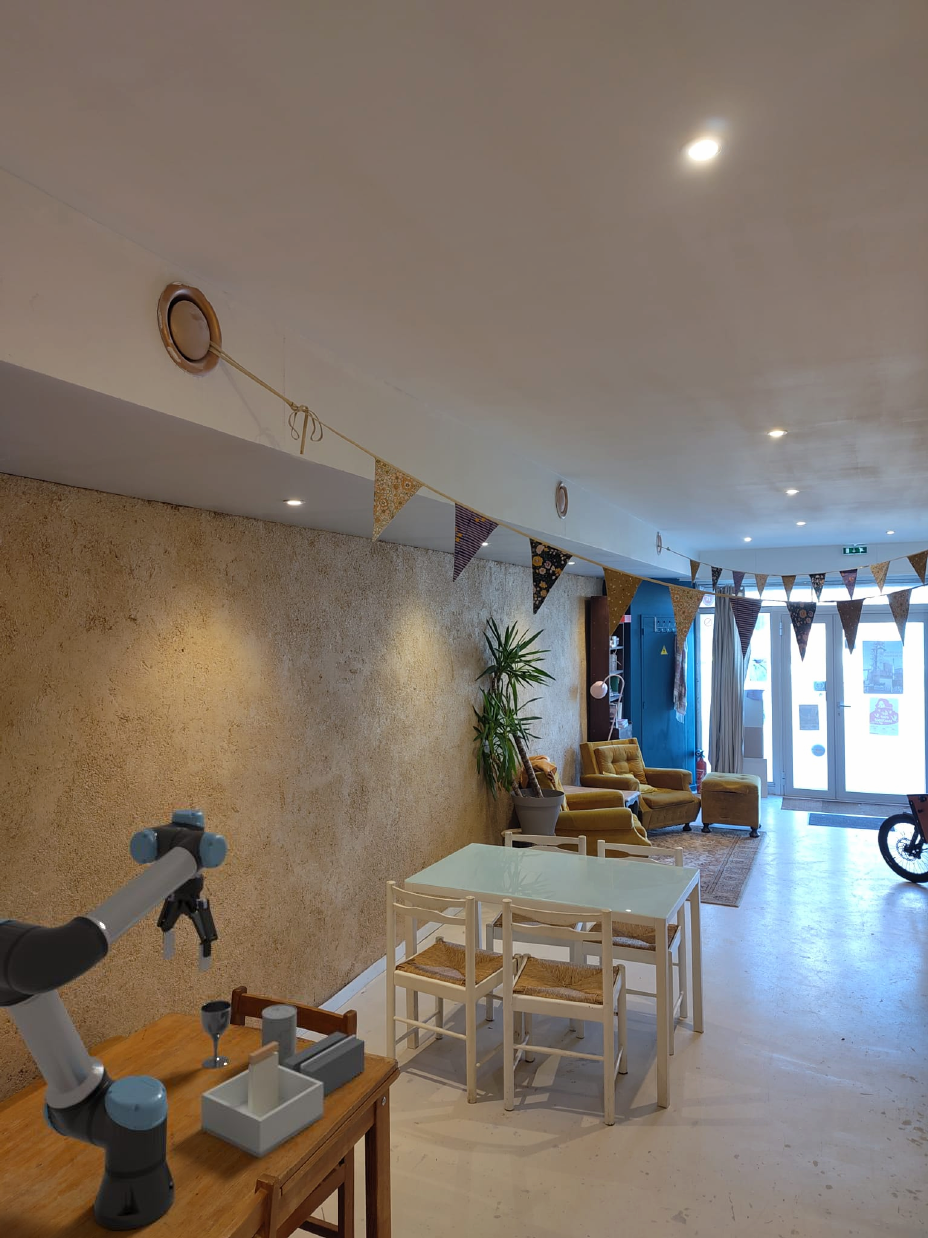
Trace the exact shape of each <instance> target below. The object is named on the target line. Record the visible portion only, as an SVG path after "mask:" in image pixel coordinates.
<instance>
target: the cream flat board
mask: <svg viewBox="0 0 928 1238" xmlns="http://www.w3.org/2000/svg"><path fill="white" fill-rule="evenodd" d="M277 1050H279V1043H277V1042H275V1041H274V1042H272V1043H270V1044H268V1045H266V1046H264V1047H262V1046H261V1047H260V1048H259V1049H257V1050H254V1051H253V1052H250V1053H249V1054H247V1055H248V1057H247V1058H248V1060H247V1061H248V1063H249V1064H248V1069H249V1073H248V1112H249V1113H251V1114H253V1115H255V1116H258V1117H260V1118H261V1117H263V1116H265V1115H266V1114H268V1113H269V1112H271V1111H273V1110H274V1109H276V1108H278V1052H275V1051H277Z"/></svg>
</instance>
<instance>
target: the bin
mask: <svg viewBox="0 0 928 1238" xmlns="http://www.w3.org/2000/svg"><path fill="white" fill-rule="evenodd" d="M248 1073H249V1068H248V1069H246V1070H245V1071H242V1072H240V1073H239V1074H237V1075H236V1076H233V1077H231V1078H229V1079H227V1080H225V1081H224V1082H222V1083H221V1084H218V1085H217V1086H215V1087H213V1088H211V1089H209V1090H207V1091H205V1092H204V1093H202V1094H201V1100H200V1101H201V1107H200V1108H201V1110H200V1111H201V1114H200V1115H201V1116H200V1117H201V1119H200V1121H201V1122H200V1129H201V1130H202V1131H204V1132H205V1133H208V1134H210V1135H212V1136H214V1137H216V1138H218V1139H220V1140H222V1141H224V1142H225V1143H228V1144H230V1145H231V1146H234V1147H236V1148H238V1149H240V1150H243V1151H244V1152H245V1153H248V1154H250V1155H252V1156H255V1157H257V1158H258V1159H261V1158H263V1157H265V1156H266V1155H267V1154H269V1153H270V1152H272V1151H273V1150H275V1149H276V1148H278V1147H280V1146H281V1145H282V1144H284V1143H286V1142H287V1141H288V1140H290V1139H291V1138H293V1137H294V1136H297V1134H299V1133H301V1132H302V1131H304V1130H305V1129H306V1128H308V1127H309V1126H311V1125H313V1124H314V1123H316V1122H317V1121H319V1120H320V1119H322V1118H323V1117H324V1097H323V1082H320V1081H318V1080H315V1079H313V1078H310V1077H308V1076H305V1075H303V1074H300V1073H298V1072H295V1071H293V1070H290V1069H287V1068H285V1067H283V1065H278V1108H276V1109H274V1110H273V1111H271V1112H269V1113H268V1114H266V1115H265V1116H263V1117H261V1118H260V1117H258V1116H255V1115H253V1114H251V1113H249V1112H248Z"/></svg>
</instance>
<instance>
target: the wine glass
mask: <svg viewBox="0 0 928 1238" xmlns="http://www.w3.org/2000/svg"><path fill="white" fill-rule="evenodd" d="M231 1015H232V1003H231V1002H230V1001H228V1000H222V999H220V1000H219V999H218V1000H212V1001H208V1002H205V1003H204V1004H202V1005H201V1008H200V1020H201V1026H202V1029H203V1031H204V1032H205V1033H206V1035H208V1036H209V1038H211V1040H212V1043H213V1056H210V1057H207V1058H205V1059H203V1060H202V1062H201V1066H202V1067H203V1068H205V1069H209V1070H211V1069H214V1070H215V1069H218V1068H219V1069H220V1068H223V1067H224V1066H227V1065H228V1063H229V1062H230V1060H229V1057H227V1056H225V1055H218V1044H219V1040H220V1038H221V1036H222V1035H223V1034H224V1033H225V1032H226V1031H227V1030H228V1028H229V1025H230V1021H231V1017H232V1016H231Z"/></svg>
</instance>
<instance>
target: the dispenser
mask: <svg viewBox="0 0 928 1238" xmlns="http://www.w3.org/2000/svg"><path fill="white" fill-rule="evenodd" d="M282 1067H285V1068H287V1069H290V1070H293V1071H295V1072H298V1073H300V1074H303V1075H305V1076H308V1077H310V1078H313V1079H315V1080H318V1081H320V1082H323V1098H325V1097H327V1096H328V1095H330V1094H331V1093H333V1092H335V1091H336V1090H338V1089H340V1088H341V1087H342V1086H344V1085H345V1084H347V1083H349V1082H350V1081H352V1080H353V1079H355V1078H356V1077H355V1076H357V1075H358V1074H360V1073H361V1072H363V1071H364V1072H365V1040H364V1039H363V1040H362V1039H360V1038H357V1035H356V1034H352V1035H350V1036H349V1037H348V1034H345V1033H343V1032H339V1031H335V1032H333V1033H331V1034H329V1035H327V1036H325V1037H324V1038H322V1039H321V1040H319V1041H317V1042H315V1043H313V1044H311V1045H310V1046H308V1047H306V1048H304V1049H302V1050H301V1051H299V1052H296V1054H295V1055H293V1056H291V1057H289V1058H288V1059H286V1060H284V1061H283V1064H282ZM364 1072H363V1073H364ZM361 1074H362V1073H361ZM361 1074H360V1075H361ZM358 1076H359V1075H358ZM358 1076H357V1077H358ZM354 1077H355V1078H354ZM352 1078H353V1079H352ZM348 1081H349V1082H348ZM343 1084H344V1085H343Z"/></svg>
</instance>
